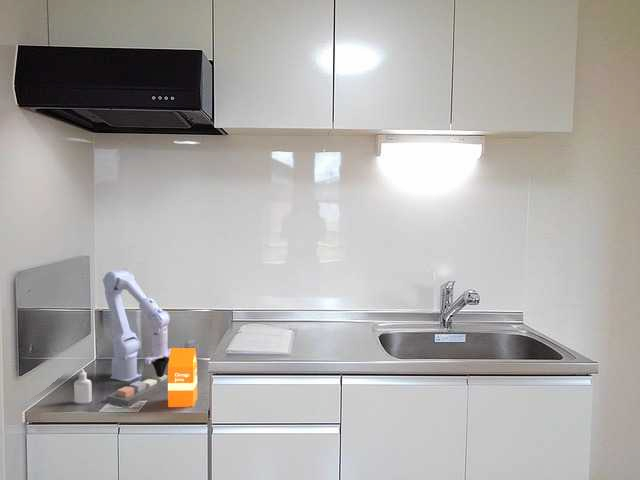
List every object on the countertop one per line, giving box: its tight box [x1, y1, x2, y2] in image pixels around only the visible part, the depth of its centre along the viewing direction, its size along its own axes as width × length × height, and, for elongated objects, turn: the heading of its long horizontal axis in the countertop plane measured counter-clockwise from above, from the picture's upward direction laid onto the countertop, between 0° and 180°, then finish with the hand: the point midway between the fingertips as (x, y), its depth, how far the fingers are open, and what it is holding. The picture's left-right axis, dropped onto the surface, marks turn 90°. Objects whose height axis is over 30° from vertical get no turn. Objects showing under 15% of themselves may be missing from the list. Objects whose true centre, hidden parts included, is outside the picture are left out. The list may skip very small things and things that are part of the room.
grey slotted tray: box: [106, 373, 168, 407], centre depth 182 cm, size 10×26×2 cm, turn 157°
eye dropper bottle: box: [73, 368, 93, 405], centre depth 171 cm, size 4×6×12 cm
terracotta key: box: [116, 385, 134, 398], centre depth 174 cm, size 4×4×2 cm
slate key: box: [129, 380, 146, 392], centre depth 180 cm, size 4×4×2 cm
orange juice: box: [167, 347, 198, 408], centre depth 172 cm, size 8×9×20 cm
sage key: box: [153, 374, 168, 381], centre depth 191 cm, size 4×4×2 cm
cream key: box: [143, 379, 157, 387], centre depth 185 cm, size 4×4×2 cm
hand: (160, 376), depth 191 cm, fingers closed, pressing on sage key
